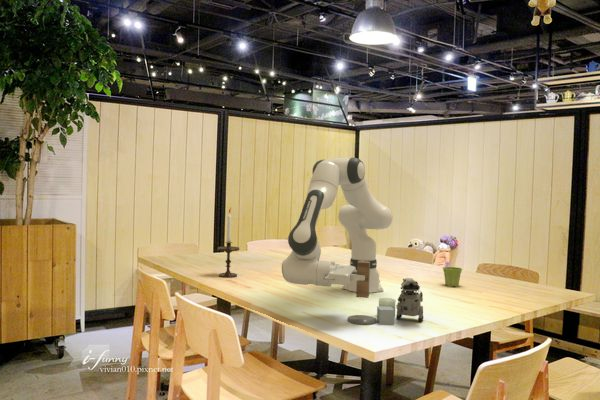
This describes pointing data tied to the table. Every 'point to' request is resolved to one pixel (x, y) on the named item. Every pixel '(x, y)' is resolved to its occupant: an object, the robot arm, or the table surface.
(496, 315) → the table surface
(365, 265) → the walnut block
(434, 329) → the table surface
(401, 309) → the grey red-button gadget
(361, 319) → the slate coaster
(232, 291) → the table surface
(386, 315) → the bluegrey cube
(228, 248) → the candlestick
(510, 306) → the table surface
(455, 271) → the plant pot
